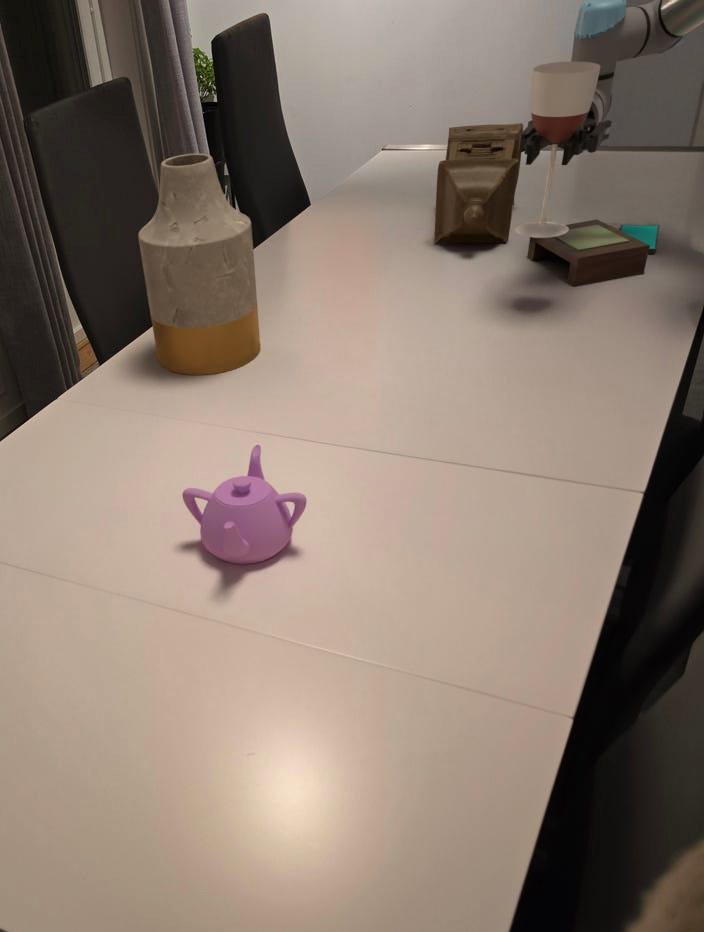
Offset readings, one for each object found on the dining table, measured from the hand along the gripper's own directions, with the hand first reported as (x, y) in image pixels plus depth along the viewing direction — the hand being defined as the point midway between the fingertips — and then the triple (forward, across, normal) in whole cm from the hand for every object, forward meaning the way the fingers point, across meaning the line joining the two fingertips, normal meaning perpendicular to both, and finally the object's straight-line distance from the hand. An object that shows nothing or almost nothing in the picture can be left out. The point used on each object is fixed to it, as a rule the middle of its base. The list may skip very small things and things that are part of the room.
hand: (547, 155), depth 130 cm
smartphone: (-42, -13, -25) cm, 50 cm away
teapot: (+78, +16, -25) cm, 83 cm away
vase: (+28, +48, -25) cm, 61 cm away
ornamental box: (-43, +21, -25) cm, 54 cm away
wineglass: (-5, 0, -13) cm, 14 cm away
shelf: (-27, -5, -25) cm, 37 cm away
